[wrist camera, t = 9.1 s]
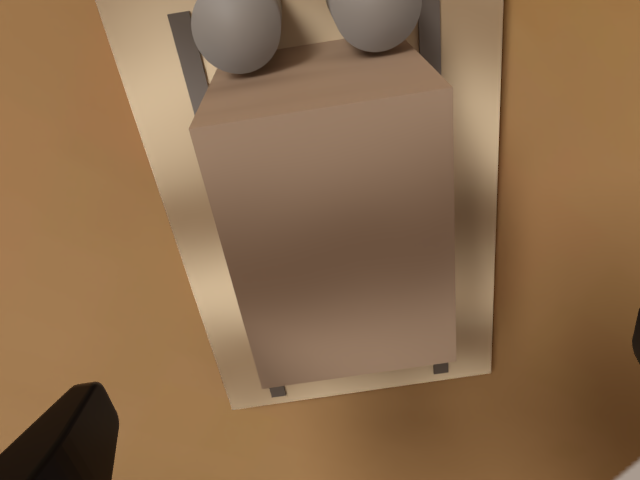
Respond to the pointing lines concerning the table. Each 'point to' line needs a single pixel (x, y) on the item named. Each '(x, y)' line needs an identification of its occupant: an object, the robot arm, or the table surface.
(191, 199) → the guide board
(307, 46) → the upright wooden block
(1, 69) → the table surface
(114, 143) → the table surface
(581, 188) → the table surface
